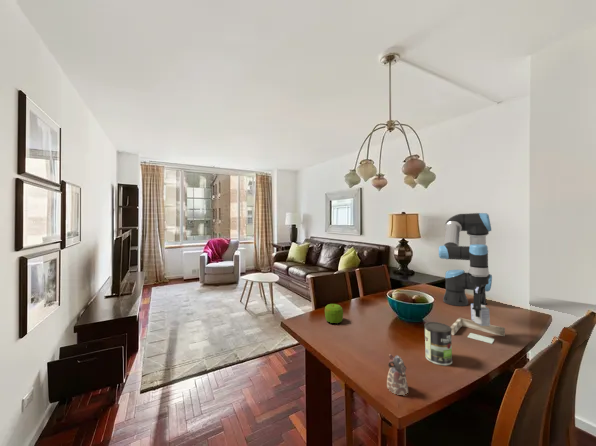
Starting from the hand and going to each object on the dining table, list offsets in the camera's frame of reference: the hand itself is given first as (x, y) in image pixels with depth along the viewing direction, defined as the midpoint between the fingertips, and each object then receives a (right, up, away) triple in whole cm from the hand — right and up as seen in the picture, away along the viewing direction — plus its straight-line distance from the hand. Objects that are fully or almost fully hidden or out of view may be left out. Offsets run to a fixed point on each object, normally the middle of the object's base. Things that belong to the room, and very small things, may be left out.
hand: (480, 320), depth 124 cm
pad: (0, -9, 0) cm, 9 cm away
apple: (-70, -11, +26) cm, 75 cm away
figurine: (-56, -11, -35) cm, 67 cm away
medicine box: (0, -2, 0) cm, 2 cm away
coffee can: (-31, -10, -17) cm, 36 cm away
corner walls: (+1, -9, +4) cm, 10 cm away
